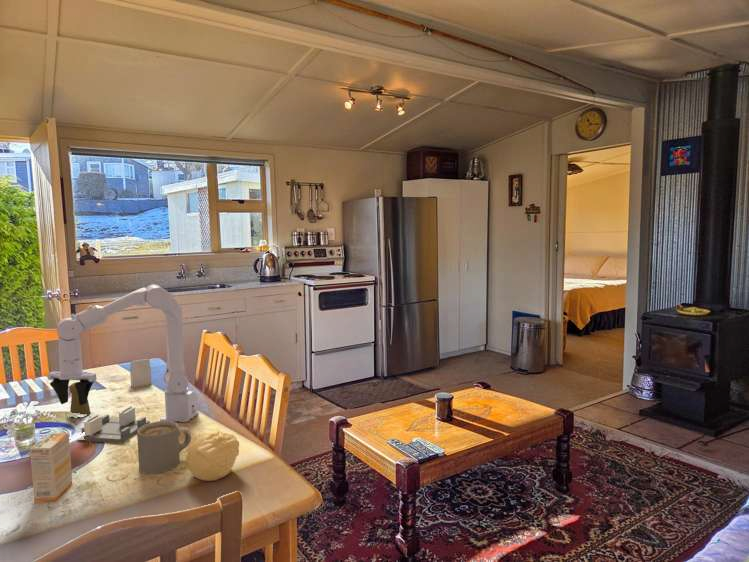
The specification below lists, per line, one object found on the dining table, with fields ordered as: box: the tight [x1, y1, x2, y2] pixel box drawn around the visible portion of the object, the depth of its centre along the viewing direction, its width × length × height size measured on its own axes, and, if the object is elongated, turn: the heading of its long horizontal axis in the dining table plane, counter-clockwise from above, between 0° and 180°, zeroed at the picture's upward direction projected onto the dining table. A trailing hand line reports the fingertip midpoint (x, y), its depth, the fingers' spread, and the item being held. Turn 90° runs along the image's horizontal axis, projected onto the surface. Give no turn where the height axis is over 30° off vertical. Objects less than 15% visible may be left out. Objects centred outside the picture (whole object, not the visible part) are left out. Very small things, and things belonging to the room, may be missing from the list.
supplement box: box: [29, 432, 73, 503], centre depth 118 cm, size 8×5×13 cm, turn 5°
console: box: [80, 414, 151, 444], centre depth 153 cm, size 14×14×3 cm
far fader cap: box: [118, 406, 137, 426], centre depth 157 cm, size 2×5×4 cm, turn 172°
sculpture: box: [186, 430, 240, 482], centre depth 127 cm, size 12×12×11 cm
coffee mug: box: [136, 420, 192, 475], centre depth 133 cm, size 13×10×10 cm
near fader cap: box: [83, 414, 103, 435], centre depth 150 cm, size 2×5×4 cm, turn 172°
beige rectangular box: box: [129, 358, 153, 389], centre depth 198 cm, size 4×7×10 cm, turn 128°
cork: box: [68, 381, 92, 416], centre depth 167 cm, size 6×6×11 cm
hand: (73, 403), depth 150 cm, fingers open, 6 cm apart
